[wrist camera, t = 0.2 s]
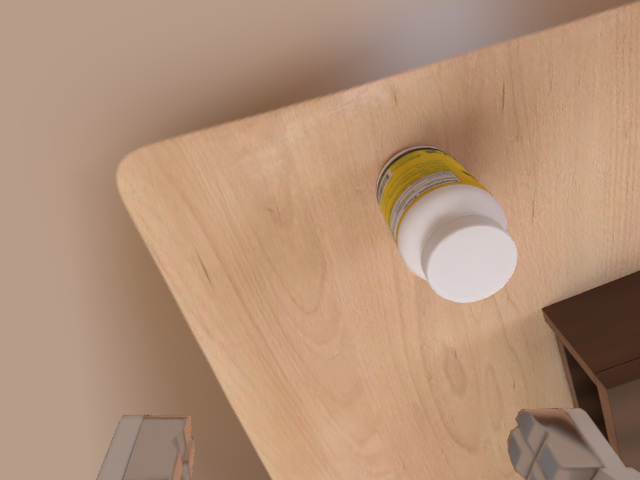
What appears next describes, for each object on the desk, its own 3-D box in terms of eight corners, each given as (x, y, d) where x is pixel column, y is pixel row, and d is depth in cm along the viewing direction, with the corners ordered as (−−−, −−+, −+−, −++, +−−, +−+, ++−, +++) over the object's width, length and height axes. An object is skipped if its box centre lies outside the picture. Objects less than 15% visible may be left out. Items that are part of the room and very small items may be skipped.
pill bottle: (467, 205, 33) (541, 292, 24) (388, 234, 34) (429, 330, 24) (449, 128, 30) (524, 193, 21) (363, 161, 31) (397, 239, 21)
